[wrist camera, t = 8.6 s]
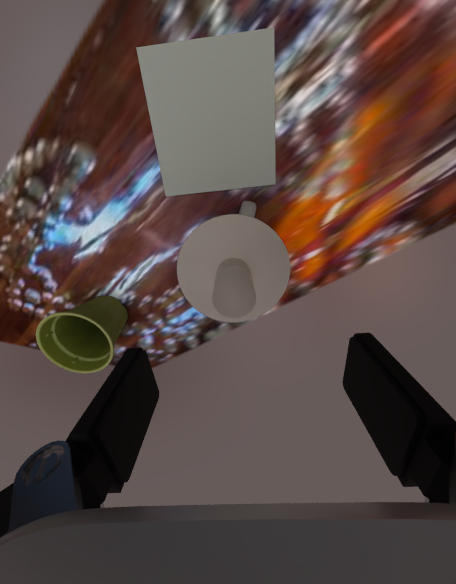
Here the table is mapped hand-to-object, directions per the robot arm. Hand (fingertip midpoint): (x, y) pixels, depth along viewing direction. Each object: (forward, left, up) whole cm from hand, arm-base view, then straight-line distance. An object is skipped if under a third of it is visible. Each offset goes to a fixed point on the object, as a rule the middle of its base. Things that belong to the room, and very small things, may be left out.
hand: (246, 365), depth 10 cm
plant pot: (+21, +8, -23) cm, 33 cm away
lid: (+1, +1, -15) cm, 15 cm away
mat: (+1, -15, -23) cm, 27 cm away
